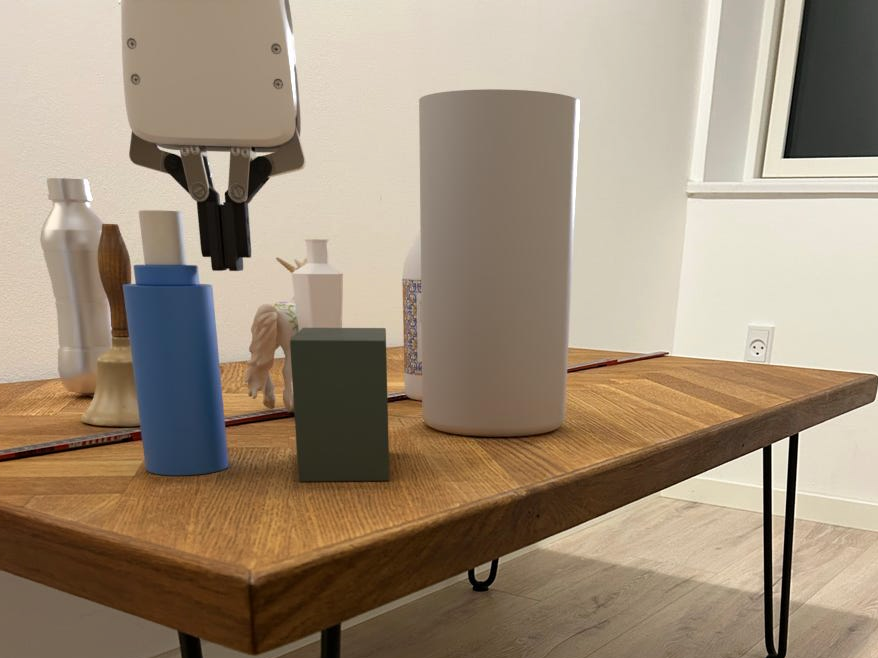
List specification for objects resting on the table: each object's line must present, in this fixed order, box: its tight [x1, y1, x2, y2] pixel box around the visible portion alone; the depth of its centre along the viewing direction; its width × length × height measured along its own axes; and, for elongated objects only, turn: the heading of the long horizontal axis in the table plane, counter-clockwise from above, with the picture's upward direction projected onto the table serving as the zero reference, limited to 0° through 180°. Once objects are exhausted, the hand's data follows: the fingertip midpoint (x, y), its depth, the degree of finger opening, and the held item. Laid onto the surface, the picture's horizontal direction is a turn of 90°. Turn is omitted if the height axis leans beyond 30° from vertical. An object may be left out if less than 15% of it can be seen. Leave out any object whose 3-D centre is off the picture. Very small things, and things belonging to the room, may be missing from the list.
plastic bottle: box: [39, 177, 112, 397], centre depth 93 cm, size 6×7×20 cm
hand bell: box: [80, 223, 140, 427], centre depth 81 cm, size 8×8×16 cm
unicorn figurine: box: [244, 256, 307, 414], centre depth 90 cm, size 7×20×13 cm, turn 1°
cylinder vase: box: [418, 88, 581, 438], centre depth 78 cm, size 12×12×25 cm
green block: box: [290, 327, 390, 483], centre depth 66 cm, size 6×10×9 cm, turn 5°
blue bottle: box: [123, 209, 230, 477], centre depth 63 cm, size 12×6×16 cm
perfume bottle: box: [290, 238, 344, 331], centre depth 84 cm, size 5×4×15 cm
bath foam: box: [401, 229, 422, 402], centre depth 95 cm, size 7×7×20 cm
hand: (228, 269), depth 62 cm, fingers closed
